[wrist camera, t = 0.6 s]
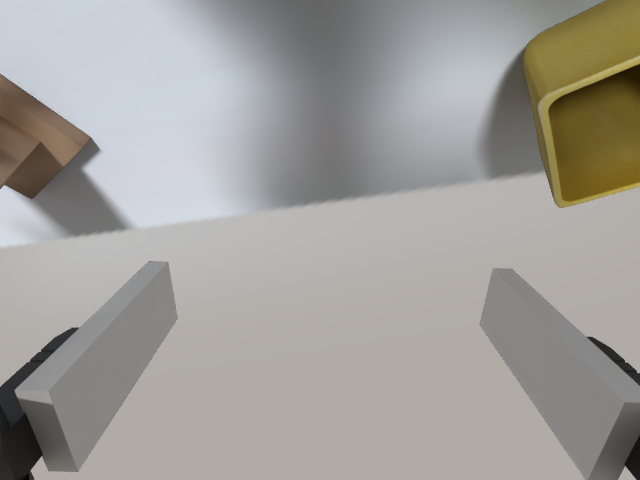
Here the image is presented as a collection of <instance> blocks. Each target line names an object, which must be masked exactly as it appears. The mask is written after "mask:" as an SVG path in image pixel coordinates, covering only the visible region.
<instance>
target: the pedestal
mask: <svg viewBox="0 0 640 480" xmlns="http://www.w3.org/2000/svg"><path fill="white" fill-rule="evenodd" d="M89 139H90V137H89V136H88V135H87V134H85V133H84V132H82V131H81V130H79V129H78V128H77V127H75V126H74V125H72V124H71V123H69V122H68V121H67V120H65V119H64V118H62V117H61V116H59V115H58V114H57V113H55V112H54V111H52V110H51V109H49V108H48V107H47V106H45V105H44V104H42V103H41V102H39V101H38V100H37V99H35V98H34V97H32V96H31V95H29V94H28V93H26V92H25V91H24V90H22V89H21V88H19V87H18V86H16V85H15V84H14V83H12V82H11V81H9V80H8V79H6V78H5V77H4V76H2V75H1V74H0V189H1V188H2V187H3V186H4V185H6V186H8V187H10V188H12V189H13V190H15V191H17V192H19V193H21V194H23V195H25V196H26V197H28V198H30V199H33V198H34V197H35V196H36V195H37V194H38V193H39V192H40V191H41V190H42V189H43V188H44V187H45V186H46V185H47V184H48V183H49V182H50V181H51V180H52V178H53V177H54V176H55V175H56V174H57V173H58V172H59V171H60V170H61V169H62V168H63V167H64V166H65V165H66V164H67V163H68V162H69V161H70V160H71V159H72V158H73V157H74V156H75V155H76V154H77V153H78V152H79V151H80V150H81V149H82V148H83V146H84V145H85V144H86V143H87V141H88V140H89Z"/></svg>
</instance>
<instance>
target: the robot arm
mask: <svg viewBox="0 0 640 480" xmlns="http://www.w3.org/2000/svg"><path fill="white" fill-rule="evenodd" d="M176 320H177V313H176V307H175V301H174V295H173V289H172V283H171V277H170V271H169V265H168V262H156V261H155V262H154V261H149V262H148V263H147V264H146V265H145V266H144V267H143V268H142V269H141V270H140V271H138V272H137V274H135V275H134V276H133V277H132V278H131V279H130V280H129V281H128V282H127V283H126V284H125V285H124V286H123V287H122V288H121V289H120V290H119V291H118V292H116V293H115V294H114V296H112V297H111V298H110V299H109V300H108V301H107V302H106V303H105V304H104V305H103V306H102V307H101V308H100V309H99V310H98V311H97V312H96V313H95V314H94V315H93V316H91V317H90V318H89V319H88V320H87V321H86V322H85V323H84V324H83V325H82V326H81V327H80V328H71V329H69V330H67V331H66V332H64V333H62V334H60V335H59V336H57V337H55V338H54V339H53V340H52V341H51V342H49V343H48V344H47V345H46V346H45V347H44V348H43V349H42V350H41V352H38V353H37V354H36V355H35V356H34V357H33V358H32V359H31V360H30V362H28V363H26V364H25V365H24V366H23V367H22V368H21V369H20V370H18V371H17V372H16V373H15V374H14V375H13V376H12V377H11V378H10V379H9V380H7V381H6V382H5V383H4V384H3V385H2V386H1V387H0V480H34V477H33V475H32V473H31V471H30V470H31V469H32V467H33V466H34V465H35V464H36V462H37V461H38V460H39V459H40V457H41V456H42V457H43V459H44V462H45V464H46V466H47V469H48V471H66V472H68V471H69V472H78V471H79V470H80V468H81V467H82V465H83V464H84V462H85V461H86V459H87V457H88V456H89V454H90V453H91V451H92V450H93V448H94V447H95V445H96V444H97V442H98V440H99V439H100V437H101V436H102V434H103V433H104V431H105V430H106V428H107V427H108V425H109V424H110V422H111V420H112V419H113V417H114V416H115V414H116V413H117V411H118V410H119V408H120V407H121V405H122V403H123V402H124V400H125V399H126V397H127V396H128V394H129V393H130V391H131V390H132V388H133V387H134V385H135V384H136V382H137V380H138V379H139V377H140V376H141V374H142V373H143V371H144V370H145V368H146V367H147V365H148V363H149V362H150V360H151V359H152V357H153V355H154V354H155V352H156V351H157V349H158V348H159V347H160V345H161V343H162V342H163V340H164V339H165V337H166V336H167V334H168V333H169V331H170V329H171V328H172V326H173V325H174V323H175V322H176ZM480 326H481V328H482V329H483V331H484V332H485V334H486V335H487V336H488V338H489V339H490V341H491V342H492V344H493V345H494V347H495V348H496V350H497V351H498V353H499V354H500V356H501V357H502V358H503V360H504V361H505V363H506V364H507V366H508V367H509V369H510V370H511V372H512V373H513V375H514V376H515V377H516V379H517V380H518V382H519V383H520V385H521V386H522V388H523V389H524V391H525V392H526V394H527V395H528V396H529V398H530V399H531V401H532V402H533V404H534V405H535V407H536V408H537V409H538V411H539V412H540V414H541V415H542V417H543V418H544V420H545V421H546V423H547V424H548V426H549V427H550V429H551V430H552V432H553V433H554V434H555V436H556V437H557V439H558V440H559V442H560V443H561V445H562V446H563V448H564V449H565V451H566V452H567V453H568V455H569V456H570V458H571V459H572V461H573V462H574V464H575V465H576V467H577V468H578V469H579V471H580V472H581V474H582V475H583V477H584V478H585V480H618V478H619V476H620V474H621V473H622V471H623V469H624V467H625V466H626V467H627V468H628V470H629V471H630V472H631V473H632V475H633V476H634V477H635V478H636V480H640V373H637V371H636V370H635V369H634V368H633V367H632V366H631V365H630V364H629V363H625V360H624V359H623V358H622V357H621V356H619V355H618V354H617V353H616V352H615V351H614V350H613V349H611V348H610V347H608V346H607V345H605V344H603V343H602V342H600V341H598V340H596V339H595V338H593V337H586V336H585V335H584V334H583V333H581V332H580V331H579V330H578V329H577V328H576V327H575V326H574V325H573V324H572V323H571V322H569V321H568V320H567V319H566V318H565V317H564V316H563V315H562V314H561V313H560V312H559V311H557V310H556V309H555V308H554V307H553V306H552V305H551V304H550V303H549V302H547V300H545V299H544V298H543V297H542V296H541V295H540V294H539V293H538V292H537V291H536V290H535V289H533V288H532V287H531V286H530V285H529V284H528V283H527V282H526V281H524V279H523V278H521V277H520V276H519V275H518V274H517V273H516V272H515V271H514V270H513V269H503V268H502V269H501V268H493V270H492V274H491V278H490V282H489V287H488V291H487V295H486V300H485V304H484V308H483V312H482V316H481V321H480Z"/></svg>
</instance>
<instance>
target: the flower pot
mask: <svg viewBox="0 0 640 480" xmlns="http://www.w3.org/2000/svg"><path fill="white" fill-rule="evenodd" d="M523 68H524V74H525V78H526V82H527V86H528V91H529V95H530V100H531V105H532V110H533V116H534V121H535V127H536V132H537V138H538V144H539V150H540V154H541V158H542V161H543V165H544V168H545V172H546V175H547V178H548V182H549V185H550V189H551V192H552V195H553V198H554V201H555V204H556V205H557V206H558V207H559V208H564V207H569V206H573V205H576V204H580V203H584V202H588V201H591V200H595V199H598V198H602V197H605V196H608V195H612V194H615V193H618V192H622V191H626V190H629V189H633V188H636V187H640V0H606V1H604V2H602V3H600V4H598V5H596V6H594V7H592V8H590V9H588V10H586V11H584V12H582V13H580V14H578V15H576V16H574V17H572V18H570V19H568V20H566V21H563V22H561V23H559V24H557V25H555V26H553V27H551V28H549V29H547V30H545V31H543V32H541V33H540V34H538V35H537V36H536V37H535V38H533V39H532V40H531V41H530V42H529V43H528V45H527V47H526V49H525V51H524V55H523Z"/></svg>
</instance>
